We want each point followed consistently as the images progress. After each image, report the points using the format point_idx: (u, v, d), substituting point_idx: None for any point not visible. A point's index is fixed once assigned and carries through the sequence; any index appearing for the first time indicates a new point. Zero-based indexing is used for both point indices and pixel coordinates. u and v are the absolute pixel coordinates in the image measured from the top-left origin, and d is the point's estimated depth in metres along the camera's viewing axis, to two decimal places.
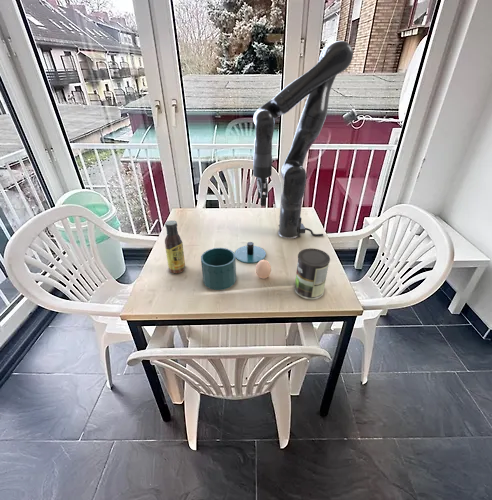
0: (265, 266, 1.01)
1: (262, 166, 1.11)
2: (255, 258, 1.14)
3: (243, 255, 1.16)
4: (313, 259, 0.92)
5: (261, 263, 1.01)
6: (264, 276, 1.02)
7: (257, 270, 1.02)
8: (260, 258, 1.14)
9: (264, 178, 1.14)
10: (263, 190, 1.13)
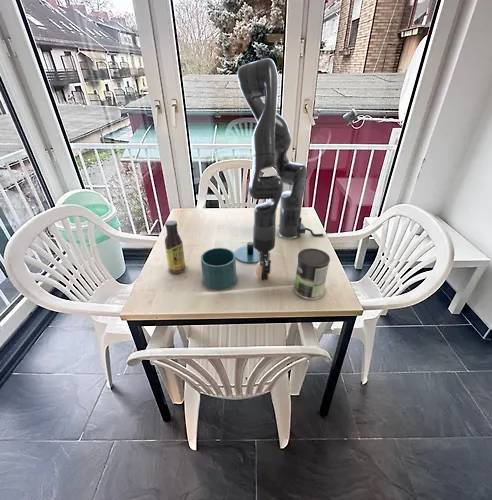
0: None
1: (264, 239, 0.93)
2: (255, 258, 1.14)
3: (243, 255, 1.16)
4: (313, 259, 0.92)
5: None
6: None
7: (257, 270, 1.02)
8: None
9: (266, 251, 0.96)
10: (265, 267, 0.96)
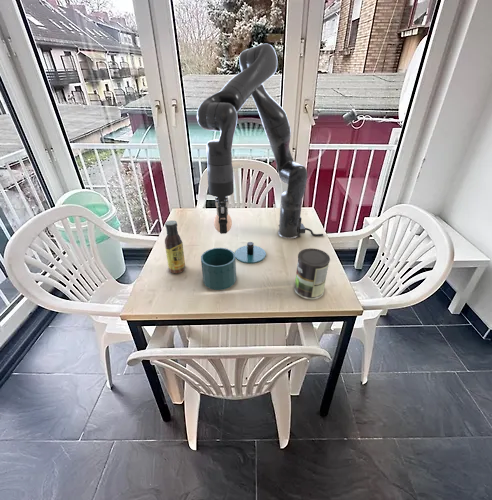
0: None
1: (218, 181, 0.81)
2: (255, 258, 1.14)
3: (243, 255, 1.16)
4: (313, 259, 0.92)
5: None
6: None
7: (215, 222, 0.90)
8: (260, 258, 1.14)
9: (222, 197, 0.83)
10: (221, 216, 0.83)
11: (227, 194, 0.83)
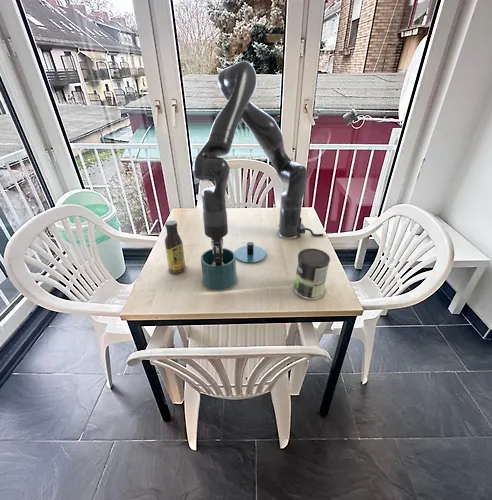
0: None
1: (213, 225, 0.88)
2: (255, 258, 1.14)
3: (243, 255, 1.16)
4: (313, 259, 0.92)
5: (214, 263, 1.00)
6: None
7: None
8: (260, 258, 1.14)
9: (217, 239, 0.91)
10: (216, 255, 0.90)
11: (222, 235, 0.91)
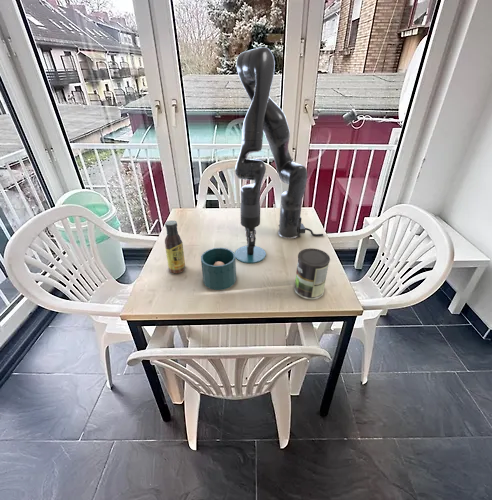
0: None
1: (249, 217, 1.05)
2: (255, 258, 1.14)
3: (243, 255, 1.16)
4: (313, 259, 0.92)
5: (216, 265, 0.99)
6: None
7: None
8: (260, 258, 1.14)
9: (252, 228, 1.07)
10: (250, 243, 1.08)
11: (255, 225, 1.07)
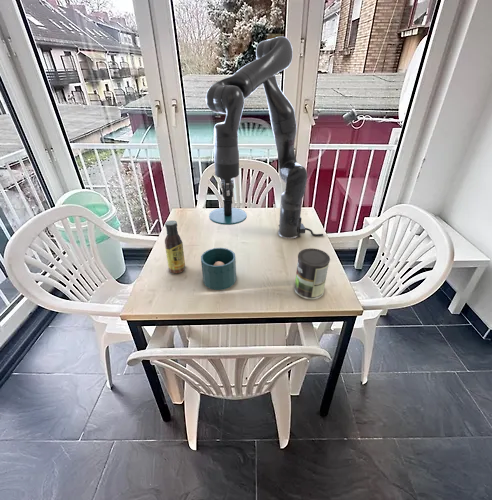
0: None
1: (225, 163, 0.84)
2: (233, 219, 0.94)
3: (219, 216, 0.95)
4: (313, 259, 0.91)
5: (216, 265, 0.99)
6: None
7: None
8: (239, 219, 0.94)
9: (228, 179, 0.86)
10: (226, 198, 0.88)
11: (233, 176, 0.87)
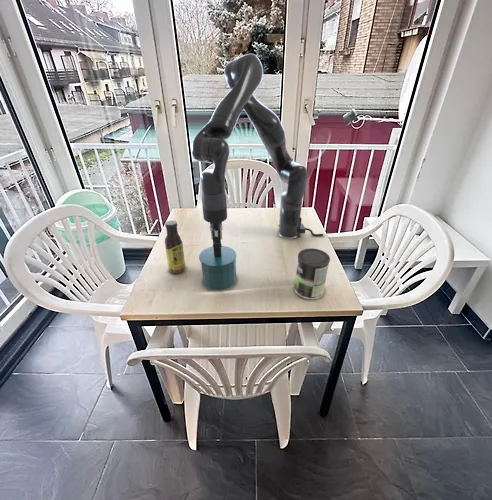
0: None
1: (212, 209, 0.85)
2: (222, 261, 0.95)
3: (209, 257, 0.97)
4: (313, 259, 0.92)
5: None
6: None
7: None
8: (228, 261, 0.95)
9: (216, 223, 0.88)
10: (215, 239, 0.87)
11: (221, 220, 0.88)
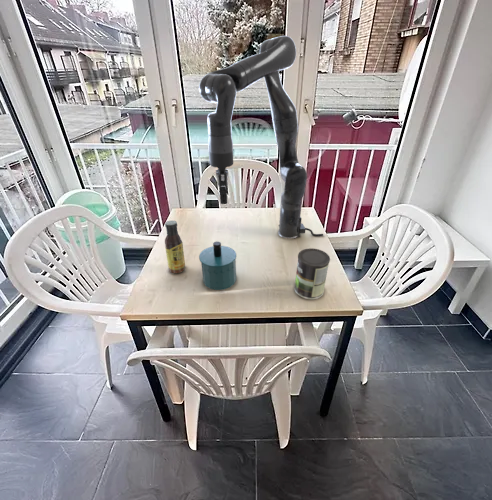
0: None
1: (219, 152, 0.85)
2: (222, 261, 0.95)
3: (209, 257, 0.97)
4: (313, 259, 0.91)
5: None
6: None
7: None
8: (228, 261, 0.95)
9: (223, 168, 0.88)
10: (221, 183, 0.87)
11: (227, 165, 0.88)
